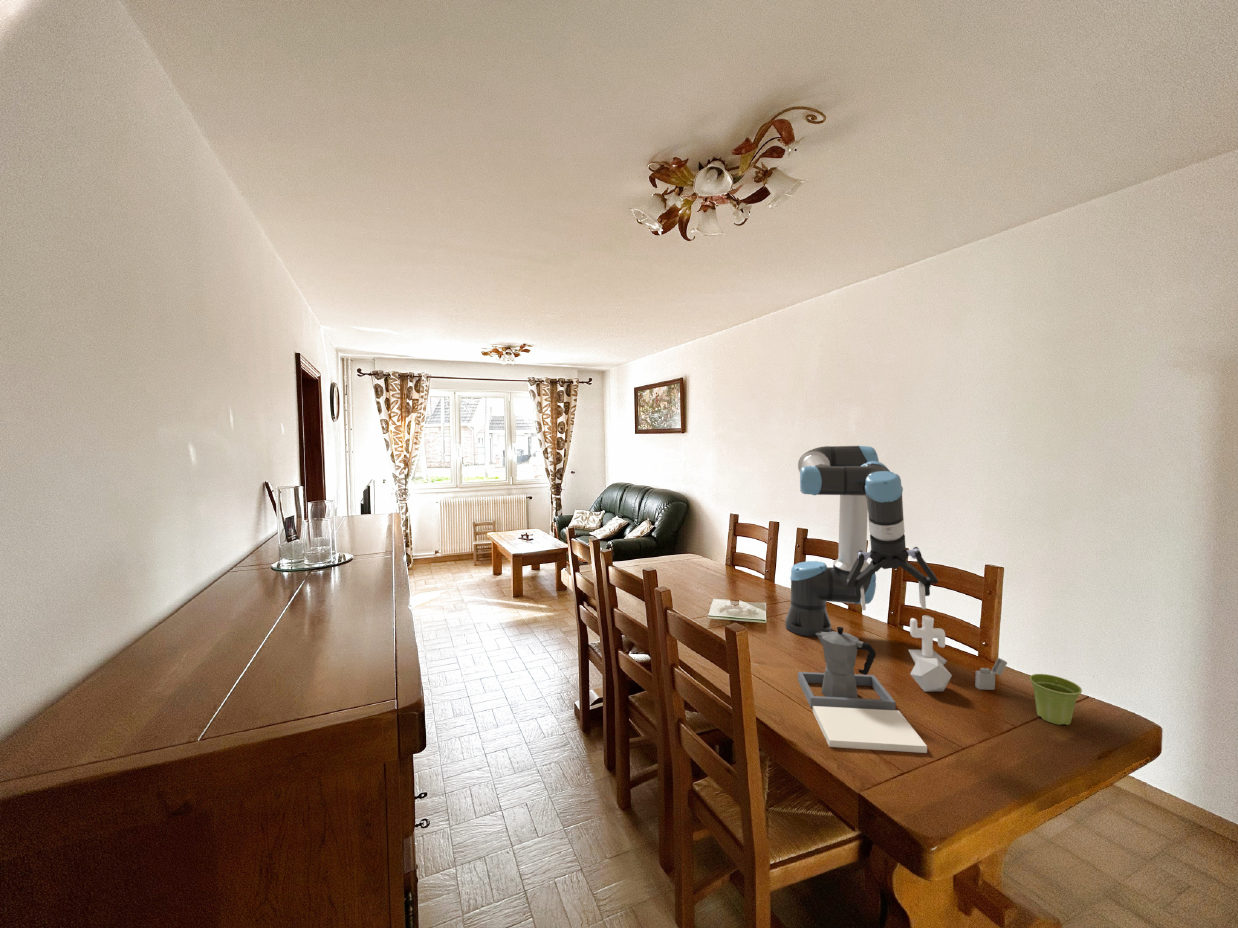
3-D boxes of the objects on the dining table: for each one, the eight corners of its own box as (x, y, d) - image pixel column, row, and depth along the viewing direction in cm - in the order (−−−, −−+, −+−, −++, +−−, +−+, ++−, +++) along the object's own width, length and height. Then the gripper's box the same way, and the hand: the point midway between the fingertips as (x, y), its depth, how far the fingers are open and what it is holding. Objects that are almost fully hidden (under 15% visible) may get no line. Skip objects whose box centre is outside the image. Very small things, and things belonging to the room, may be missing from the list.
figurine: (950, 673, 142) (952, 621, 141) (916, 672, 143) (917, 621, 142) (936, 661, 149) (937, 612, 148) (904, 661, 150) (904, 612, 149)
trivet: (812, 711, 123) (812, 705, 123) (898, 716, 121) (898, 710, 121) (829, 746, 109) (829, 740, 109) (926, 752, 107) (927, 746, 107)
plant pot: (1081, 718, 119) (1082, 682, 119) (1079, 735, 112) (1080, 697, 112) (1030, 703, 126) (1031, 670, 125) (1026, 718, 119) (1027, 683, 119)
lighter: (979, 689, 133) (979, 660, 133) (974, 686, 135) (975, 657, 134) (1006, 689, 133) (1007, 660, 132) (1002, 686, 134) (1003, 657, 134)
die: (949, 702, 128) (962, 668, 130) (918, 684, 129) (930, 650, 132) (930, 698, 136) (942, 665, 138) (900, 680, 137) (913, 648, 139)
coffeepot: (807, 691, 133) (807, 624, 132) (822, 679, 140) (823, 615, 139) (867, 713, 122) (868, 641, 121) (881, 699, 128) (882, 631, 127)
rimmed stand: (797, 680, 139) (798, 671, 139) (873, 683, 137) (873, 675, 136) (810, 707, 125) (810, 697, 125) (895, 711, 123) (895, 702, 123)
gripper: (833, 545, 122) (841, 616, 129) (951, 538, 114) (953, 614, 120) (830, 530, 129) (838, 598, 136) (941, 522, 120) (944, 595, 127)
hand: (892, 606), depth 128 cm, fingers open, 13 cm apart
